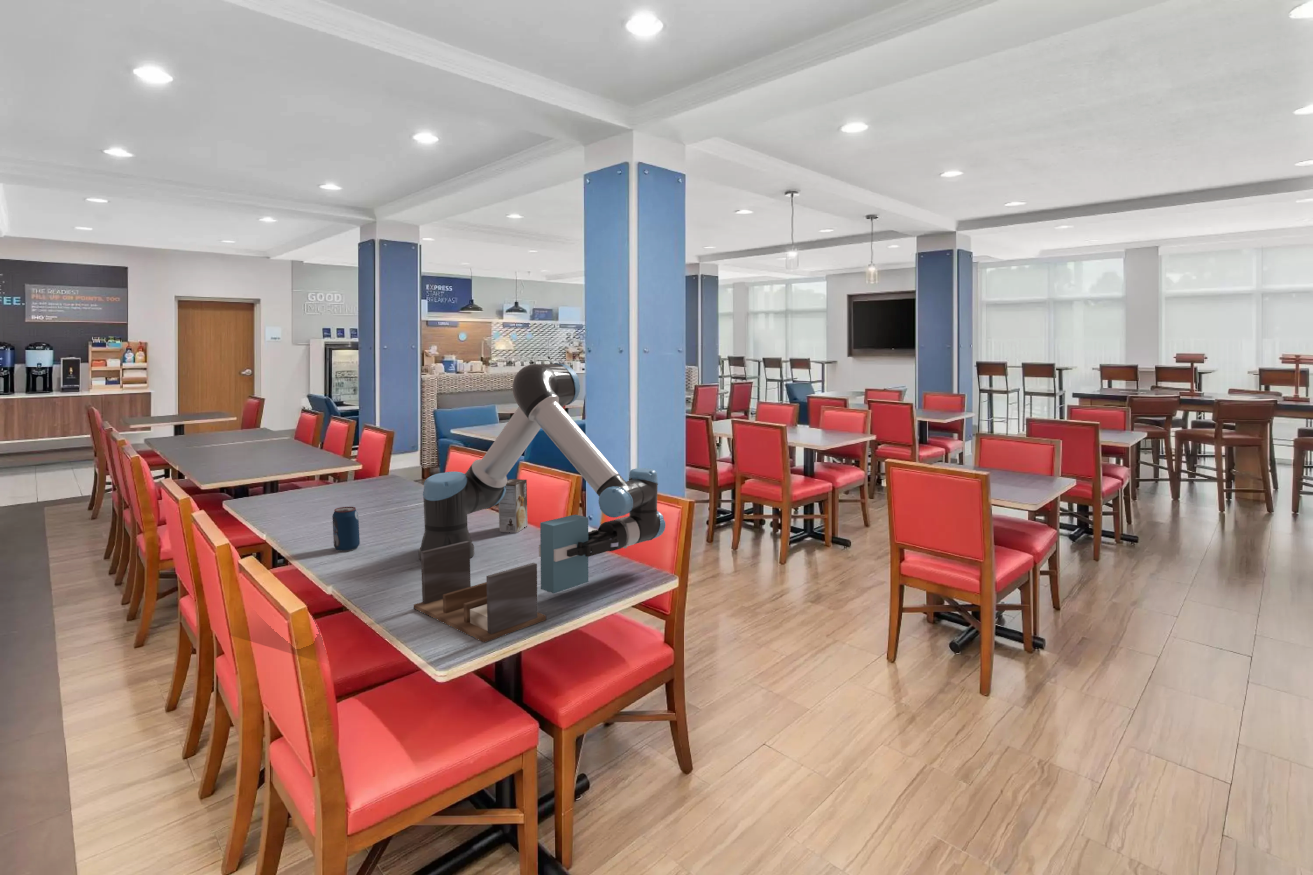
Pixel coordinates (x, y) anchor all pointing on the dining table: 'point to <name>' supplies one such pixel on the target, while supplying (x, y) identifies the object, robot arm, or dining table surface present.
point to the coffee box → (513, 507)
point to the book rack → (477, 594)
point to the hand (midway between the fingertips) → (547, 553)
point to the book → (559, 536)
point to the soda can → (346, 529)
